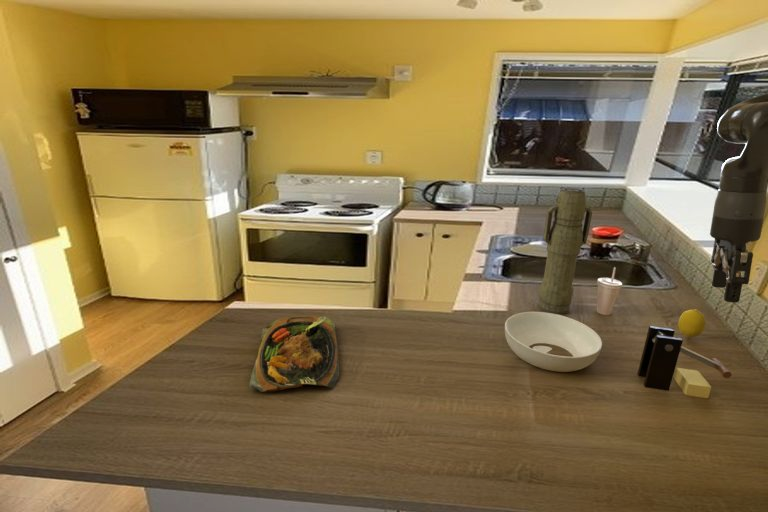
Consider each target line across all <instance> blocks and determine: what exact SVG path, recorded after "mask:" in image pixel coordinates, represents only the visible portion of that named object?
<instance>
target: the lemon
mask: <svg viewBox="0 0 768 512" xmlns="http://www.w3.org/2000/svg"><path fill="white" fill-rule="evenodd" d="M677 326H678V330H679V331H680V333H681V334H683V335H684V336H685V337H686V338H688V339H690V338H691V337H698V336H699V335H701V334H702V333H703V332H704V330H705V328H706V318H705V316H704V314H703V313H702V312H700V311H699V310H698V309H696V308H694V309H688V310H685V311H683V313H682V314H680V317H679V319H678V323H677Z"/></svg>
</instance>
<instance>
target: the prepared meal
mask: <svg viewBox="0 0 768 512" xmlns="http://www.w3.org/2000/svg"><path fill="white" fill-rule="evenodd" d="M260 336H261V337H260V341H259V346H258V349H257V355H256V358H255V362H254V365H253V368H252V372H251V376H250V379H249V384H248V389H256V390H258V391H259V392H260V393H271V392H272V393H274V392H280V391H283V390H286V389H293V388H300V387H302V386H303V385H313V386H321V387H322V386H323V387H327V388H330V389H333V388H334V386H335V384H336V383H337V381H338V380H339V377H340V361H339V349H338V340H337V331H336V325H335V322H333V321H332V320H331V319H330V318H329V317H328V316H295V317H293V316H291V317H280V318H278V319H276V320H274V321H272V322H270V323H269V324H268V325H267V326H266V327H265V328H264V327H262V331H261V335H260Z"/></svg>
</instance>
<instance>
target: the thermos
mask: <svg viewBox="0 0 768 512" xmlns="http://www.w3.org/2000/svg"><path fill="white" fill-rule="evenodd" d="M587 201H588V200H587V196H586V192H585V191H584V190H582V189H580V188H579V189H578V188H568V187H567V188H563V189H561V190H560V192H559V194H558V196H557V198H556V201H555V205H552V206H550V207H549V208H548V210H547V211H546V217H545V224H544V230H543V238H542V240H543V241H544V242H545V243H546V251H547V254H546V261H545V266H544V274H543V280H542V282H541V283H540V287H539V292H538V303H537V307H538V308H539V310H542V311H543V312H545V313H552V314H557V315H565V314H568V313H569V312H570V306H571V303H572V300H573V295H574V294H573V293H574V287H573V283H574V277H575V272H576V266H577V261H578V260H577V259H578V257H579V255H580V254H581V249H582V247H583V245H586V244H587V241H588V237H589V232H590V228H591V222H592V217H593V212H592V209H591V208H590V207H588V206H587ZM553 217H554V218H553ZM583 221H584V223H583Z"/></svg>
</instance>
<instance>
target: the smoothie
mask: <svg viewBox="0 0 768 512" xmlns="http://www.w3.org/2000/svg"><path fill="white" fill-rule="evenodd" d="M616 269H617V267H615V266H614V267H613V269H612V274H611V277H599V278H597V281H596V284H597V295H596V296H597V297H596V313H598V314H600V315H602V316H610V315H611V314H612V311H613V309H614V306H615V303H616V300H617V298H618V295H619V293H620V289H622V288H623V283H622V281H620V280H618V279H616V278H615V276H616Z"/></svg>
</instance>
